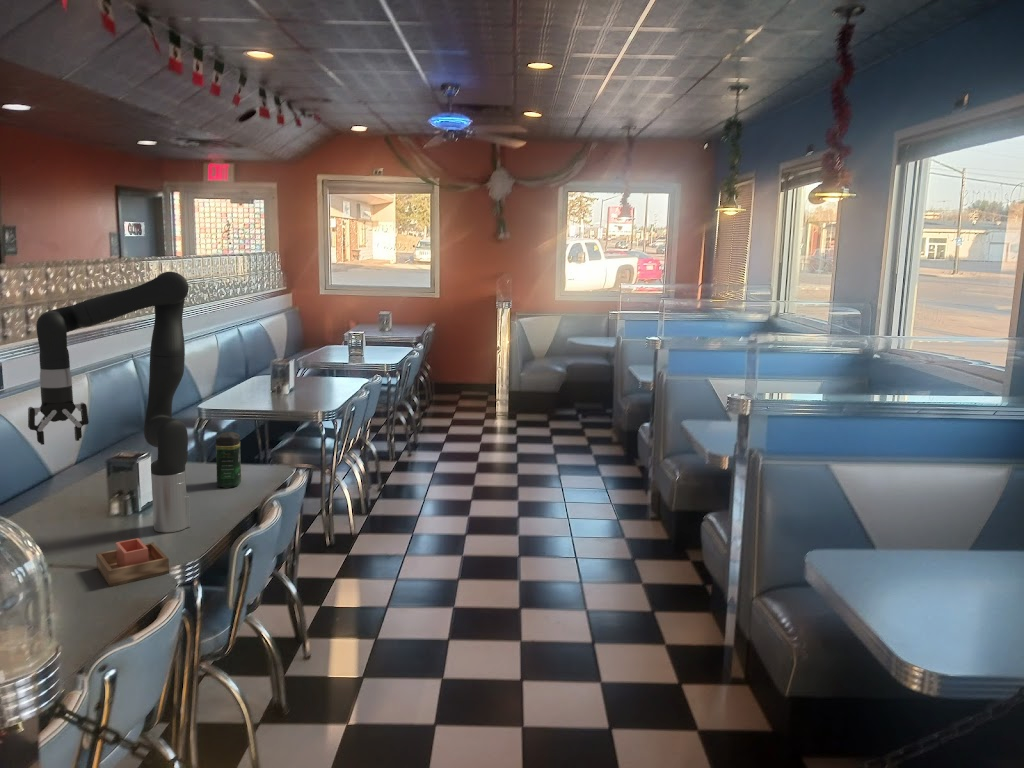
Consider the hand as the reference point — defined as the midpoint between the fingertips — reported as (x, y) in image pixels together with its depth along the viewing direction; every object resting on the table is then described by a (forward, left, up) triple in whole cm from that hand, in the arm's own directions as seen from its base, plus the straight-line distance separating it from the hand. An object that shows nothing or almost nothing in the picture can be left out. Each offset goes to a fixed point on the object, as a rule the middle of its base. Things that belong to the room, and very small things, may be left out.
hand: (60, 442), depth 215 cm
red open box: (-9, +34, -27) cm, 45 cm away
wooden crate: (-9, +34, -28) cm, 45 cm away
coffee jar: (-55, -26, -28) cm, 67 cm away
